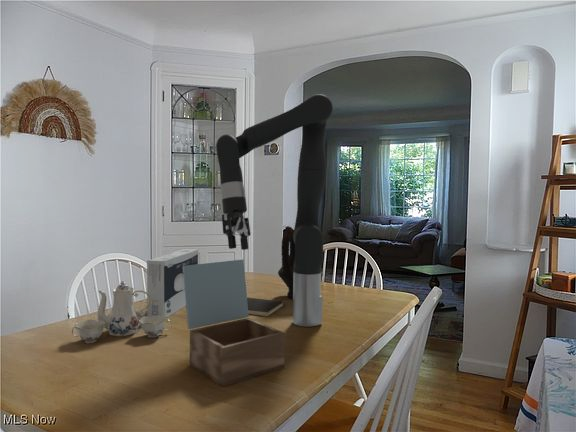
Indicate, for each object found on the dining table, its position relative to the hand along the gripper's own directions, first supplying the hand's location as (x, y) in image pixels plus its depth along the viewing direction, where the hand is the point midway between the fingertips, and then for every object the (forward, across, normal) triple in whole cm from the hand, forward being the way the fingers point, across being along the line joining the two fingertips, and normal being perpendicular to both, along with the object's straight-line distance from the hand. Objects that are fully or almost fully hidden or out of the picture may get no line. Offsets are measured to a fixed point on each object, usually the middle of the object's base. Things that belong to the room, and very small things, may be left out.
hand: (239, 248), depth 141 cm
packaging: (+16, +20, +39) cm, 46 cm away
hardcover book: (+20, +31, +14) cm, 39 cm away
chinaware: (+22, -12, +36) cm, 44 cm away
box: (+32, -21, -6) cm, 38 cm away
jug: (+18, +54, +1) cm, 56 cm away
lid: (+13, -19, -2) cm, 23 cm away
